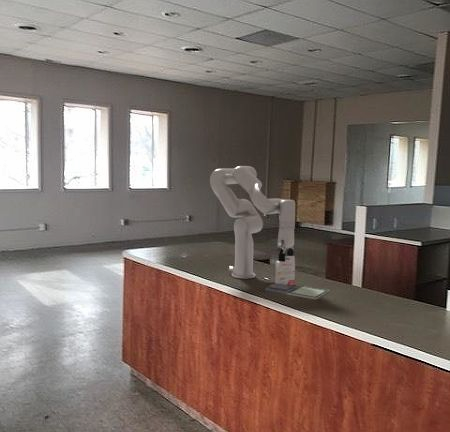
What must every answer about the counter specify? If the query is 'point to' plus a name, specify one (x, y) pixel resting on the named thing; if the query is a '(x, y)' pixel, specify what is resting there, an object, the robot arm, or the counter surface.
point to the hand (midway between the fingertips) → (286, 259)
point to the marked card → (308, 292)
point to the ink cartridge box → (285, 271)
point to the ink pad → (280, 288)
